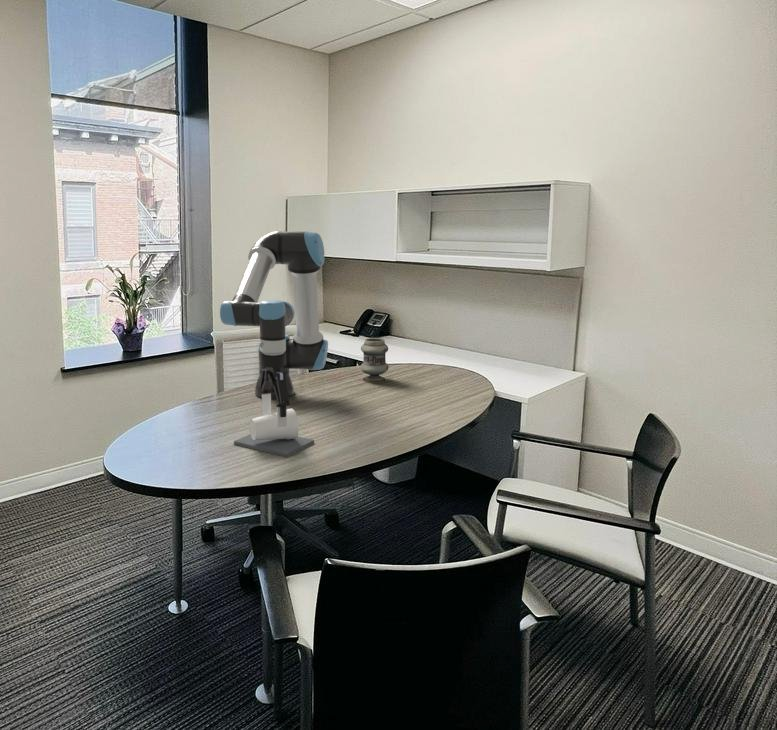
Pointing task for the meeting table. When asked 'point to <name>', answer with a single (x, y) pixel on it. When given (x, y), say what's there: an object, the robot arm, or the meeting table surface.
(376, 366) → the apothecary jar
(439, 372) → the meeting table surface
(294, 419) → the foam cup
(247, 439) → the rubber mat
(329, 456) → the meeting table surface
